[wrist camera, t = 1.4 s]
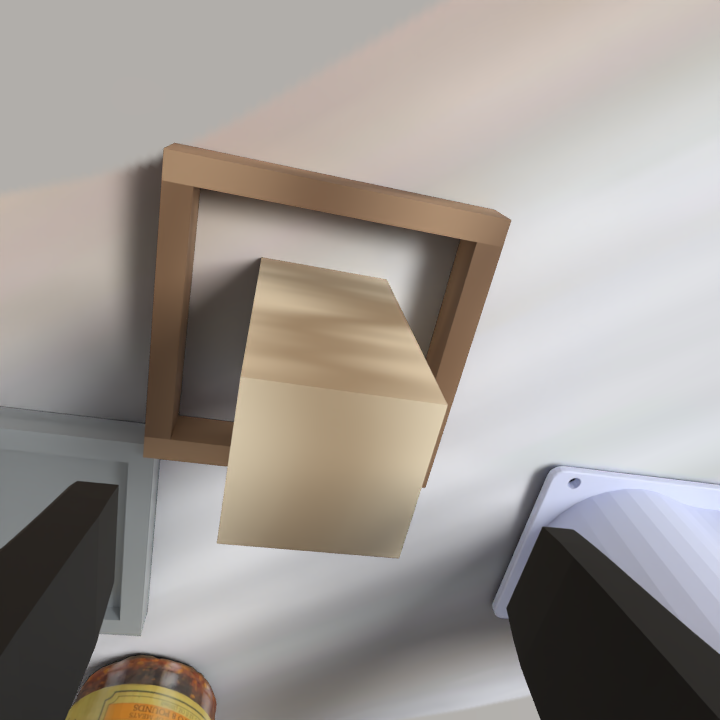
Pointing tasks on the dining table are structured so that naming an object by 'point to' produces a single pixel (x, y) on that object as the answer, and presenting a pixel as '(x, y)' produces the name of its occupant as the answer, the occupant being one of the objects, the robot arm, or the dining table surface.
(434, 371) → the holder
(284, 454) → the peg
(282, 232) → the dining table surface
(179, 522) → the dining table surface
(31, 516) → the tray
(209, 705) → the sauce bottle
